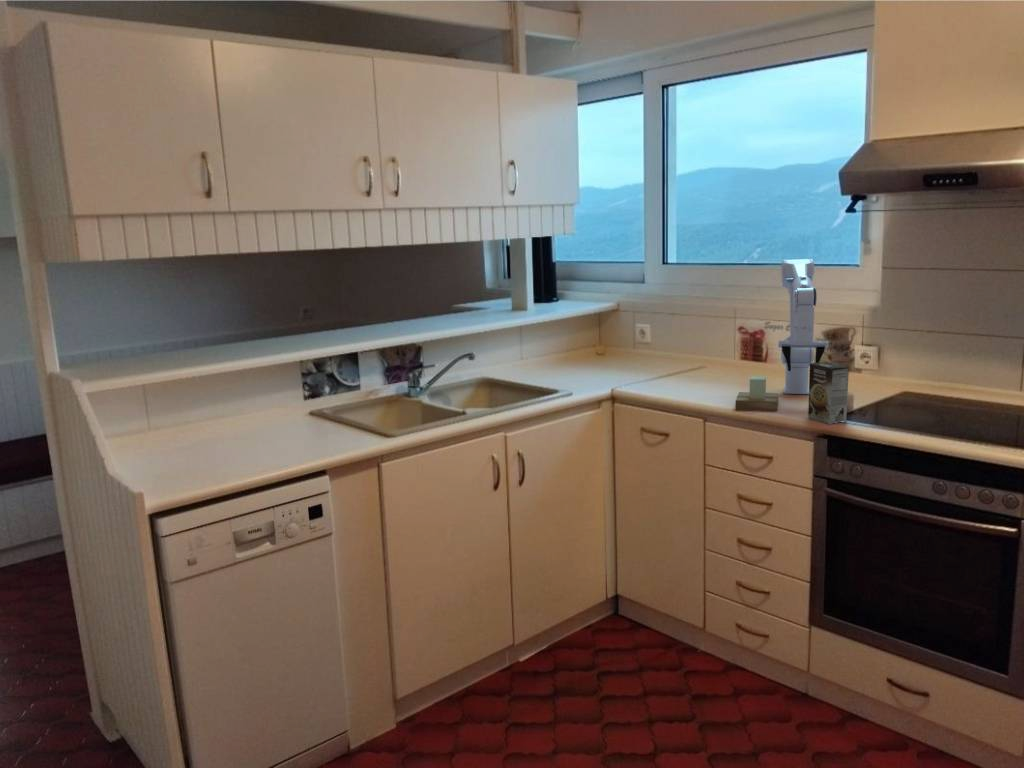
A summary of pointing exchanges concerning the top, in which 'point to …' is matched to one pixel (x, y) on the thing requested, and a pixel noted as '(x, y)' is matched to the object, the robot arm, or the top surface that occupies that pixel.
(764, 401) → the walnut base
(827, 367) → the coffee box
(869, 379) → the top surface
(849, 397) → the tan round piece
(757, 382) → the sage block
